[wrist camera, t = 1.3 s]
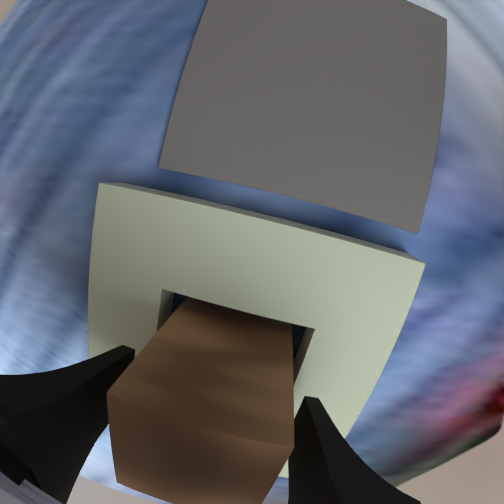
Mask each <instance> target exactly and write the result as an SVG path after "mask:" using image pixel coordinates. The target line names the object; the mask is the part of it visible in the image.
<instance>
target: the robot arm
mask: <svg viewBox="0 0 504 504" xmlns="http://www.w3.org/2000/svg"><path fill="white" fill-rule="evenodd" d="M134 359H135V349H133V348H130V347H128V346H125V345H121V346H118V347H116V348H114V349H111V350H109V351H107V352H104V353H102V354H100V355H97V356H95V357H92V358H90V359H88V360H85V361H82V362H79V363H76V364H73V365H71V366H68V367H64V368H60V369H56V370H52V371H47V372H41V373H33V374H24V375H0V504H66V503H67V501H68V498H69V495H70V493H71V491H72V488H73V486H74V483H75V481H76V479H77V477H78V475H79V473H80V470H81V468H82V466H83V465H84V463H85V461H86V459H87V457H88V455H89V453H90V451H91V449H92V448H93V446H94V444H95V442H96V441H97V439H98V438H99V436H100V435H101V433H102V432H103V431H104V429H105V428H106V427H107V425H108V424H109V419H108V406H107V391H108V390H109V389H110V388H111V387H112V385H113V384H114V383H115V382H116V380H117V379H118V378H119V377H120V376H121V374H122V373H123V372H124V371H125V370H126V368H127V367H128V366H129V365H130V364H131V362H132V361H133V360H134ZM288 476H289V500H288V504H421V503H420V501H418V500H416V499H414V498H412V497H411V496H409V495H407V494H405V493H403V492H401V491H400V490H398V489H397V488H395V487H394V486H392V485H391V484H389V483H388V482H386V481H385V480H384V479H382V478H381V477H380V476H379V475H378V474H376V473H375V472H374V471H373V470H372V469H371V468H370V467H369V466H368V465H366V464H365V463H364V461H363V460H362V459H361V458H360V457H359V456H358V455H357V454H356V453H355V452H354V451H353V449H352V448H351V447H350V446H349V444H348V443H347V442H346V440H345V439H344V438H343V436H342V435H341V433H340V432H339V430H338V429H337V427H336V426H335V424H334V423H333V421H332V419H331V418H330V416H329V414H328V413H327V411H326V409H325V408H324V406H323V404H322V403H321V401H320V399H319V398H316V397H310V396H304V398H303V401H302V403H301V405H300V407H299V410H298V412H297V414H296V416H295V418H294V449H293V451H292V452H291V454H290V456H289V458H288Z"/></svg>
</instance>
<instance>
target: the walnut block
mask: <svg viewBox="0 0 504 504" xmlns="http://www.w3.org/2000/svg"><path fill="white" fill-rule="evenodd" d="M107 406H108V419H109V429H110V439H111V447H112V455H113V462H114V468H115V474H116V480H117V483H120V484H122V485H124V486H127V487H129V488H132V489H134V490H137V491H139V492H142V493H144V494H147V495H150V496H153V497H155V498H158V499H161V500H164V501H167V502H170V503H173V504H261V503H262V502H263V500H264V499H265V497H266V495H267V494H268V492H269V491H270V489H271V487H272V486H273V484H274V482H275V481H276V479H277V477H278V475H279V474H280V472H281V470H282V469H283V467H284V465H285V463H286V461H287V460H288V458H289V456H290V454H291V452H292V451H293V449H294V383H293V345H292V323H288V322H284V321H279V320H275V319H271V318H267V317H263V316H259V315H255V314H251V313H247V312H243V311H240V310H236V309H232V308H228V307H225V306H221V305H217V304H214V303H210V302H206V301H203V300H199V299H196V298H192V297H189V296H187V297H186V299H185V300H184V301H183V302H182V303H181V304H180V306H179V307H178V308H177V309H176V310H175V311H174V313H173V314H172V315H171V316H170V317H169V318H168V320H167V321H166V322H165V323H164V324H163V326H162V327H161V328H160V329H159V330H158V331H157V333H156V334H155V335H154V336H153V337H152V339H151V340H150V341H149V342H148V343H147V344H146V346H145V347H144V348H143V349H142V350H141V352H140V353H139V354H138V355H137V356H136V358H135V359H134V360H133V361H132V362H131V364H130V365H129V366H128V367H127V368H126V370H125V371H124V372H123V373H122V374H121V376H120V377H119V378H118V379H117V380H116V382H115V383H114V384H113V385H112V387H111V388H110V389H109V390H108V391H107Z"/></svg>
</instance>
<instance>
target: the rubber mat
mask: <svg viewBox="0 0 504 504" xmlns="http://www.w3.org/2000/svg"><path fill="white" fill-rule="evenodd" d="M446 55H447V19H445V18H443V17H441V16H439V15H437V14H435V13H433V12H431V11H429V10H427V9H424V8H422V7H420V6H418V5H415V4H413V3H411V2H408V1H406V0H208V2H207V4H206V7H205V10H204V12H203V15H202V18H201V20H200V23H199V26H198V28H197V31H196V34H195V37H194V40H193V43H192V46H191V49H190V52H189V55H188V58H187V61H186V64H185V67H184V70H183V74H182V77H181V80H180V84H179V87H178V90H177V94H176V97H175V101H174V105H173V108H172V112H171V116H170V120H169V124H168V128H167V132H166V136H165V140H164V144H163V148H162V153H161V157H160V162H159V166H158V168H160V169H166V170H171V171H176V172H181V173H186V174H191V175H196V176H201V177H206V178H211V179H215V180H220V181H224V182H229V183H233V184H238V185H242V186H247V187H251V188H255V189H259V190H264V191H268V192H272V193H276V194H280V195H284V196H288V197H292V198H296V199H299V200H303V201H307V202H311V203H315V204H318V205H322V206H326V207H329V208H333V209H336V210H340V211H344V212H347V213H351V214H354V215H357V216H361V217H364V218H368V219H371V220H374V221H378V222H381V223H384V224H387V225H391V226H394V227H397V228H400V229H403V230H406V231H409V232H412V233H416V234H418V231H419V227H420V223H421V219H422V216H423V212H424V208H425V204H426V199H427V195H428V191H429V186H430V182H431V177H432V172H433V167H434V162H435V156H436V151H437V145H438V138H439V132H440V125H441V117H442V109H443V99H444V88H445V75H446Z"/></svg>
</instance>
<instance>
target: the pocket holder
mask: <svg viewBox="0 0 504 504" xmlns="http://www.w3.org/2000/svg"><path fill="white" fill-rule="evenodd" d="M424 267H425V263H424V262H422V261H420V260H419V259H417V258H415V257H413V256H412V255H410V254H408V253H405V252H402V251H399V250H395V249H392V248H388V247H385V246H381V245H378V244H375V243H371V242H367V241H364V240H360V239H357V238H353V237H350V236H346V235H342V234H339V233H335V232H331V231H328V230H324V229H320V228H316V227H313V226H309V225H305V224H301V223H297V222H294V221H290V220H286V219H282V218H278V217H274V216H270V215H266V214H262V213H258V212H254V211H249V210H245V209H241V208H237V207H233V206H229V205H224V204H220V203H216V202H211V201H207V200H203V199H198V198H194V197H189V196H185V195H180V194H175V193H171V192H166V191H161V190H157V189H152V188H147V187H142V186H137V185H132V184H127V183H122V182H110V183H99V187H98V194H97V200H96V207H95V215H94V223H93V232H92V242H91V253H90V267H89V287H88V351H89V359H90V358H92V357H95V356H97V355H100V354H102V353H104V352H107V351H109V350H111V349H114V348H116V347H118V346H121V345H125V346H128V347H130V348H133V349H135V358H136V356H137V355H138V354H139V353H140V352H141V350H142V349H143V348H144V347H145V346H146V344H147V343H148V342H149V341H150V340H151V339H152V337H153V336H154V335H155V334H156V333H157V331H158V330H159V329H160V328H161V327H162V326H163V324H164V323H165V322H166V321H167V320H168V318H169V317H170V316H171V313H172V306H173V300H174V293H178V294H182V295H185V296H189V297H192V298H196V299H199V300H203V301H206V302H210V303H214V304H217V305H221V306H225V307H228V308H232V309H236V310H240V311H243V312H247V313H251V314H255V315H259V316H263V317H267V318H271V319H275V320H279V321H284V322H288V323H292V324H296V325H301V326H305V327H306V328H305V331H304V334H303V336H302V339H301V342H300V345H299V348H298V351H297V354H296V356H295V359H294V362H293V383H294V418H295V416H296V414H297V412H298V410H299V407H300V405H301V403H302V401H303V398H304V396H310V397H316V398H319V399H320V401H321V403H322V404H323V406H324V408H325V409H326V411H327V413H328V414H329V416H330V418H331V419H332V421H333V423H334V424H335V426H336V427H337V429H338V430H339V432H340V433H341V435H342V436H343V438H344V439H345V437H346V436H347V434H348V432H349V431H350V429H351V427H352V426H353V424H354V422H355V421H356V419H357V417H358V416H359V414H360V412H361V410H362V409H363V407H364V405H365V403H366V401H367V399H368V398H369V396H370V394H371V392H372V390H373V388H374V386H375V384H376V382H377V380H378V378H379V377H380V375H381V372H382V370H383V368H384V366H385V364H386V362H387V360H388V358H389V356H390V354H391V352H392V349H393V347H394V345H395V343H396V340H397V338H398V336H399V333H400V331H401V329H402V326H403V324H404V322H405V319H406V317H407V314H408V312H409V309H410V306H411V304H412V301H413V299H414V296H415V293H416V290H417V288H418V285H419V282H420V279H421V276H422V273H423V270H424ZM107 426H109V424H108V425H107ZM278 476H280V477H287V478H289V476H288V460H287V461H286V463H285V465H284V467H283V469H282V470H281V472H280V474H279V475H278Z"/></svg>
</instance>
